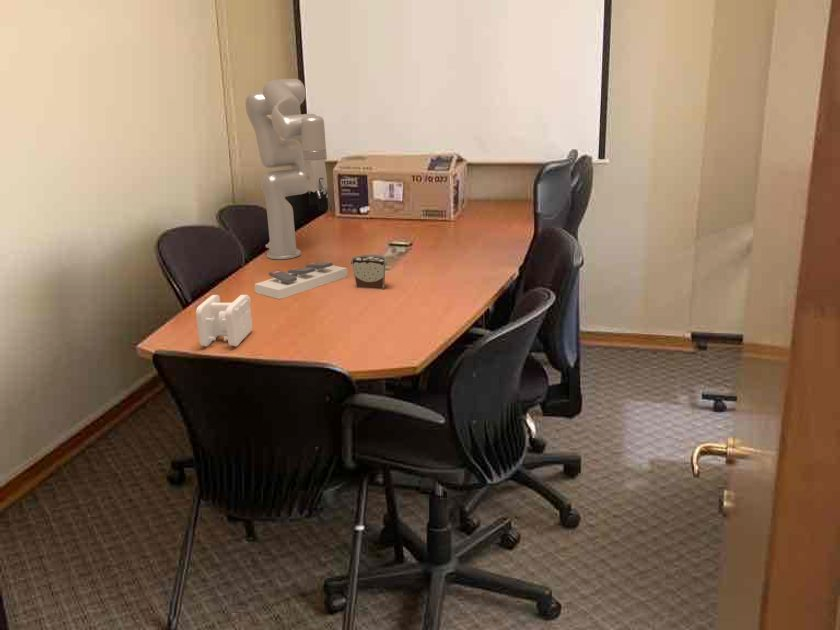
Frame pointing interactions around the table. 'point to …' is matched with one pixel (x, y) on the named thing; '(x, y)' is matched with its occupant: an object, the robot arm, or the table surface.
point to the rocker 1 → (282, 276)
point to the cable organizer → (224, 320)
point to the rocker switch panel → (300, 282)
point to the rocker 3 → (319, 265)
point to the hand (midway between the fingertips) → (319, 207)
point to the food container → (369, 271)
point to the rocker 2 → (301, 270)
